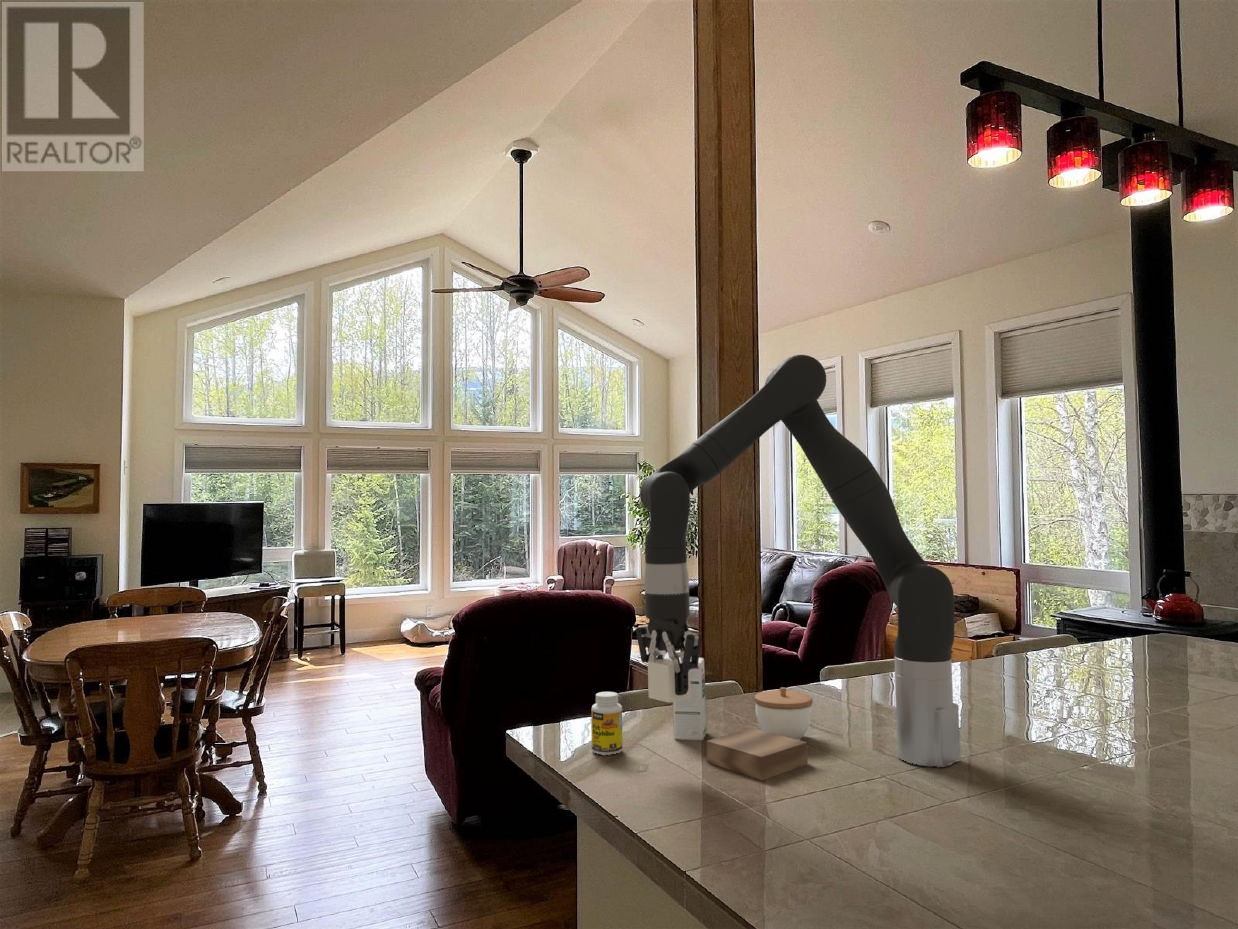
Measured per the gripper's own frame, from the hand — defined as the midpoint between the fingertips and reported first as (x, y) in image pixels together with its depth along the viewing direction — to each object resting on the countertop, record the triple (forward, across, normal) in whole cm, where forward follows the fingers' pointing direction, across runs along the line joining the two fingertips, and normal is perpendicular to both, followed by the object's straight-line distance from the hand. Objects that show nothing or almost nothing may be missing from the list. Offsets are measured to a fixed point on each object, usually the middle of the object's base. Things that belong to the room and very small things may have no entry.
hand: (669, 691), depth 132 cm
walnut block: (+13, -8, -13) cm, 20 cm away
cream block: (+1, 0, 0) cm, 1 cm away
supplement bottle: (+13, +14, +2) cm, 19 cm away
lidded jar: (+13, -2, -28) cm, 31 cm away
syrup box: (+13, +11, -16) cm, 23 cm away
